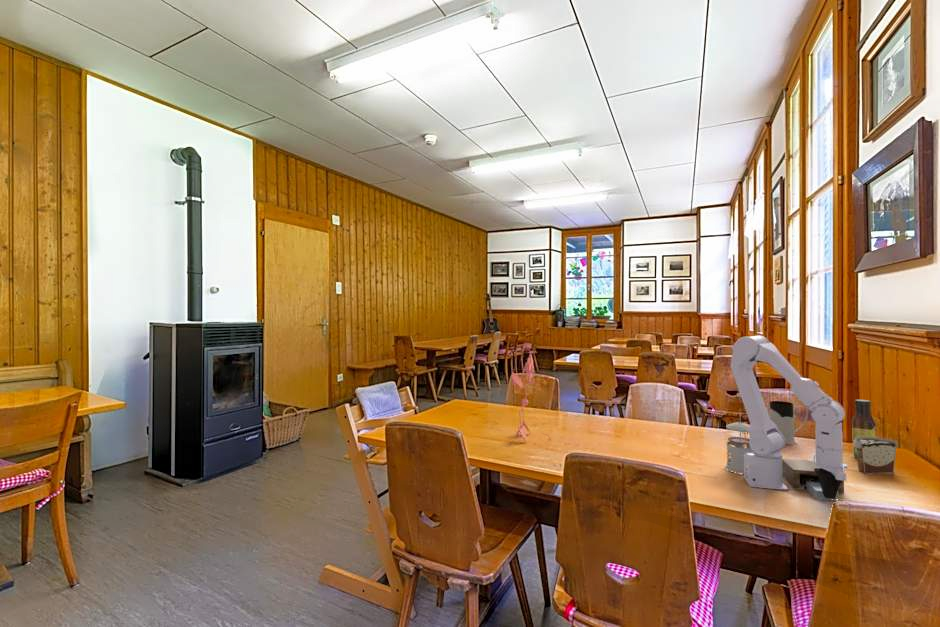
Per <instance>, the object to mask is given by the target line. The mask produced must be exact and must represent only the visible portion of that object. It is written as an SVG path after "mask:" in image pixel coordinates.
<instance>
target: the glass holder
mask: <svg viewBox="0 0 940 627" xmlns="http://www.w3.org/2000/svg"><path fill="white" fill-rule="evenodd" d="M800 408H804V409H805V417H804V421H803V422H802V424H801V425H800V426H799V427H798V428H796V429H795V417H797V416H798V410H800ZM768 414H769V417H770V420H771V421H772V422H774V423H775V424H776V426H777V428H778V430H779V432H780V433H781V434H782V435H783V436H784V438H785V444H793V445H796V444H795V443H796V441H795V434H796V433H797V432H798V431H800V430H801V429H802V428H803V426H805V424H806V422H807V420H808V417H809V416H808V415H809V409H808V408H807V407H806V406H805V405H804V406H803V405H799V406H796V408H795V412H794V403H792V402H789V401H783V400H782V401H780V400H772V401H769V411H768Z"/></svg>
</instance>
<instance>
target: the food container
mask: <svg viewBox="0 0 940 627" xmlns="http://www.w3.org/2000/svg"><path fill="white" fill-rule="evenodd" d="M853 445H854V446H855V447H856V451H857V458H856V459H857V464H858V465H857V466H858V471H859V472H860V473H861V472H862V474H863V473H864V474H863V475H875V474H874V473H886V474H894V473H895V463H896V454H897V453H896V452H897V448H899V445H898V443H897V440H893V439H888V438H884V437H877V436H876V437H857V438H855V440H854V443H853V442H852V446H853Z"/></svg>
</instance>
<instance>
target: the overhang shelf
mask: <svg viewBox="0 0 940 627" xmlns="http://www.w3.org/2000/svg"><path fill="white" fill-rule="evenodd" d="M814 468H820V467H818V466H816V465H815V462H814V460H807V459H795V458H794V459H792V458H782V477H783V479H784V480H785V481H786V482H787V483H788V484H789V485H790V486H791V487H792V488H793V489H796V490H805V486H806V481H810V482H811V481H813V482H820V481H819V478H818V476H817V474H816V472H815V471H814ZM800 480H801V481H800ZM837 492H838V494H845V481H842V482H841V484H840V486H839V488H838V491H837Z"/></svg>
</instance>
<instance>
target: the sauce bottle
mask: <svg viewBox="0 0 940 627" xmlns="http://www.w3.org/2000/svg"><path fill="white" fill-rule="evenodd" d="M854 404H855V414H854V416H853V417H852V419H851V423H852V424H851V425H852V426H851V432H852V433H851V436H852V452H853V456H854V458H856V459H857V451H856V447H855V446H854V445H853V443H854V440H855V438H857V437H877V424H876V421H875V420H874V418H873V416H872V414H871V400H868V399H867V400H866V399H855V400H854Z"/></svg>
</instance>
